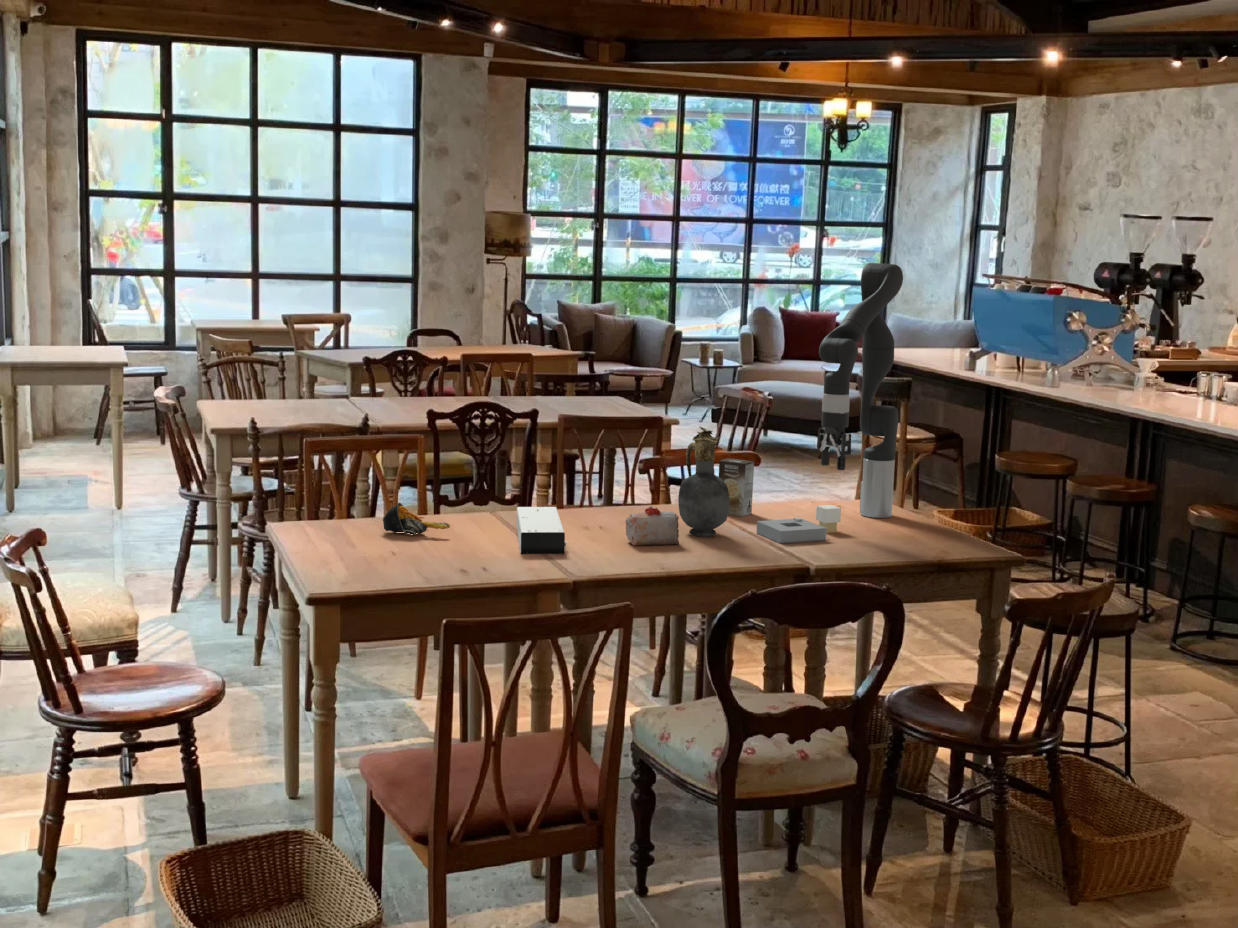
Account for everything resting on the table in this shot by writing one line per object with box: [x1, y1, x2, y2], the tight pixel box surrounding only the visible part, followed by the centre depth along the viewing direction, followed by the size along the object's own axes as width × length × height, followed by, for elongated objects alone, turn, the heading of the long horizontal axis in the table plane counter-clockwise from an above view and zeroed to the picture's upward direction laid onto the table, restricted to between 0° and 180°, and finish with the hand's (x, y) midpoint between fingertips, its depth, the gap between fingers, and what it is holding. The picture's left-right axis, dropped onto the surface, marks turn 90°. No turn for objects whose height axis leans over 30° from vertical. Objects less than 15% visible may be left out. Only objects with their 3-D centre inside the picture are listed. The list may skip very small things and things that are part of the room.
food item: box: [625, 505, 680, 547], centre depth 355 cm, size 14×8×10 cm, turn 102°
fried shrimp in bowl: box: [382, 502, 451, 536], centre depth 361 cm, size 9×11×18 cm
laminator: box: [516, 506, 569, 555], centre depth 357 cm, size 34×12×6 cm, turn 6°
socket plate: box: [756, 517, 827, 545], centre depth 366 cm, size 14×14×4 cm
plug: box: [815, 504, 842, 534], centre depth 375 cm, size 5×5×7 cm
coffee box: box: [718, 457, 755, 517], centre depth 398 cm, size 9×6×16 cm
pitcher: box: [677, 426, 730, 538], centre depth 367 cm, size 11×19×30 cm, turn 22°
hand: (832, 467), depth 372 cm, fingers open, 8 cm apart
